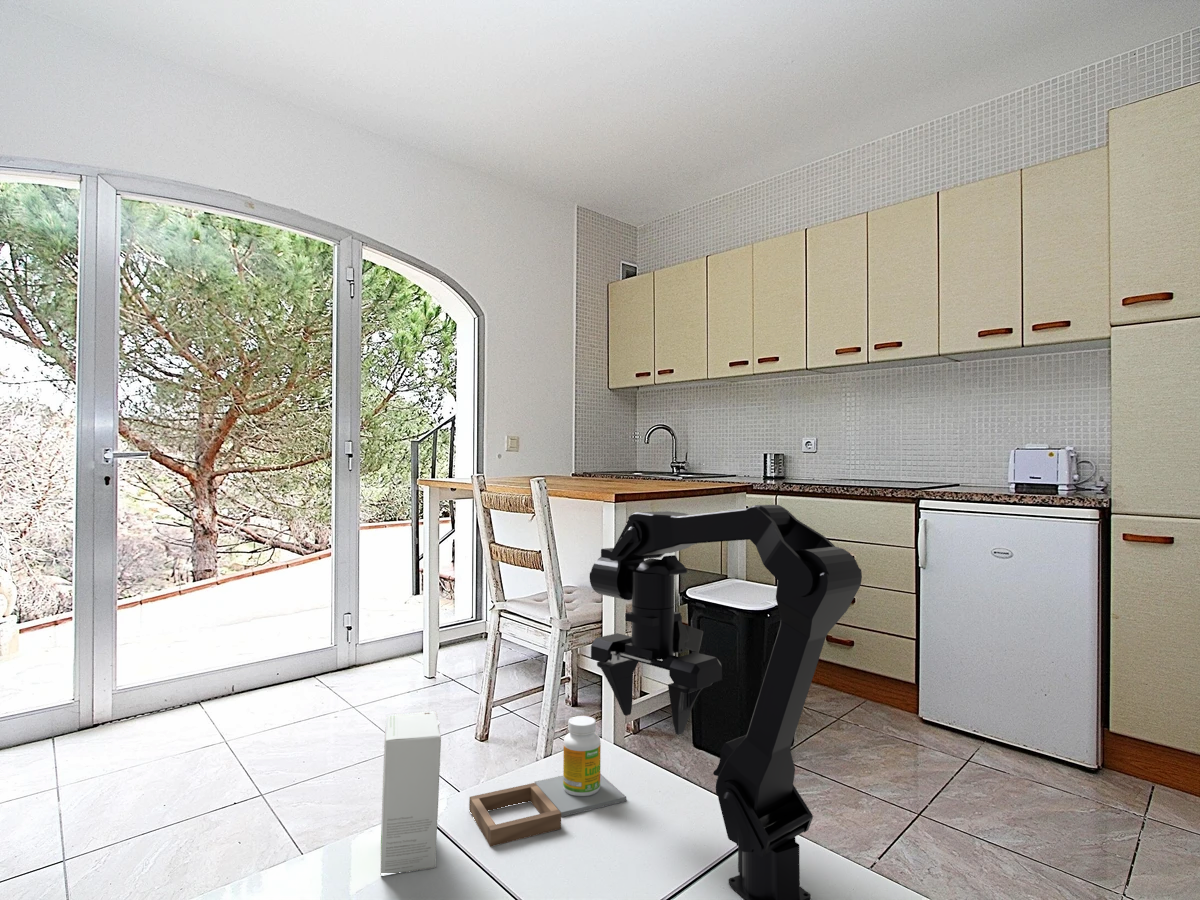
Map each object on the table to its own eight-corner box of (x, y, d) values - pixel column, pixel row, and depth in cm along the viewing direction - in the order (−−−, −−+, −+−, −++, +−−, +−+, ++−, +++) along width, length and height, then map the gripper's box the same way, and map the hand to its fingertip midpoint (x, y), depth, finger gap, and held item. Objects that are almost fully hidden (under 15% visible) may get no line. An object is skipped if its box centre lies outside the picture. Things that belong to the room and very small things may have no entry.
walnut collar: (561, 828, 85) (561, 813, 85) (490, 846, 81) (490, 830, 81) (534, 797, 93) (534, 782, 93) (469, 811, 89) (469, 796, 89)
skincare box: (381, 840, 82) (384, 714, 83) (435, 832, 84) (437, 708, 85) (379, 879, 74) (382, 739, 75) (439, 869, 76) (442, 732, 77)
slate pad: (626, 800, 92) (626, 796, 92) (561, 816, 88) (561, 812, 88) (594, 772, 101) (594, 768, 101) (534, 785, 97) (534, 781, 97)
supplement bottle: (587, 801, 91) (588, 730, 92) (555, 791, 94) (556, 722, 94) (607, 785, 96) (607, 718, 96) (576, 777, 98) (576, 711, 99)
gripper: (746, 607, 86) (746, 728, 86) (642, 590, 100) (641, 693, 99) (694, 619, 79) (694, 752, 78) (588, 598, 92) (587, 711, 91)
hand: (652, 724), depth 87 cm, fingers open, 9 cm apart
